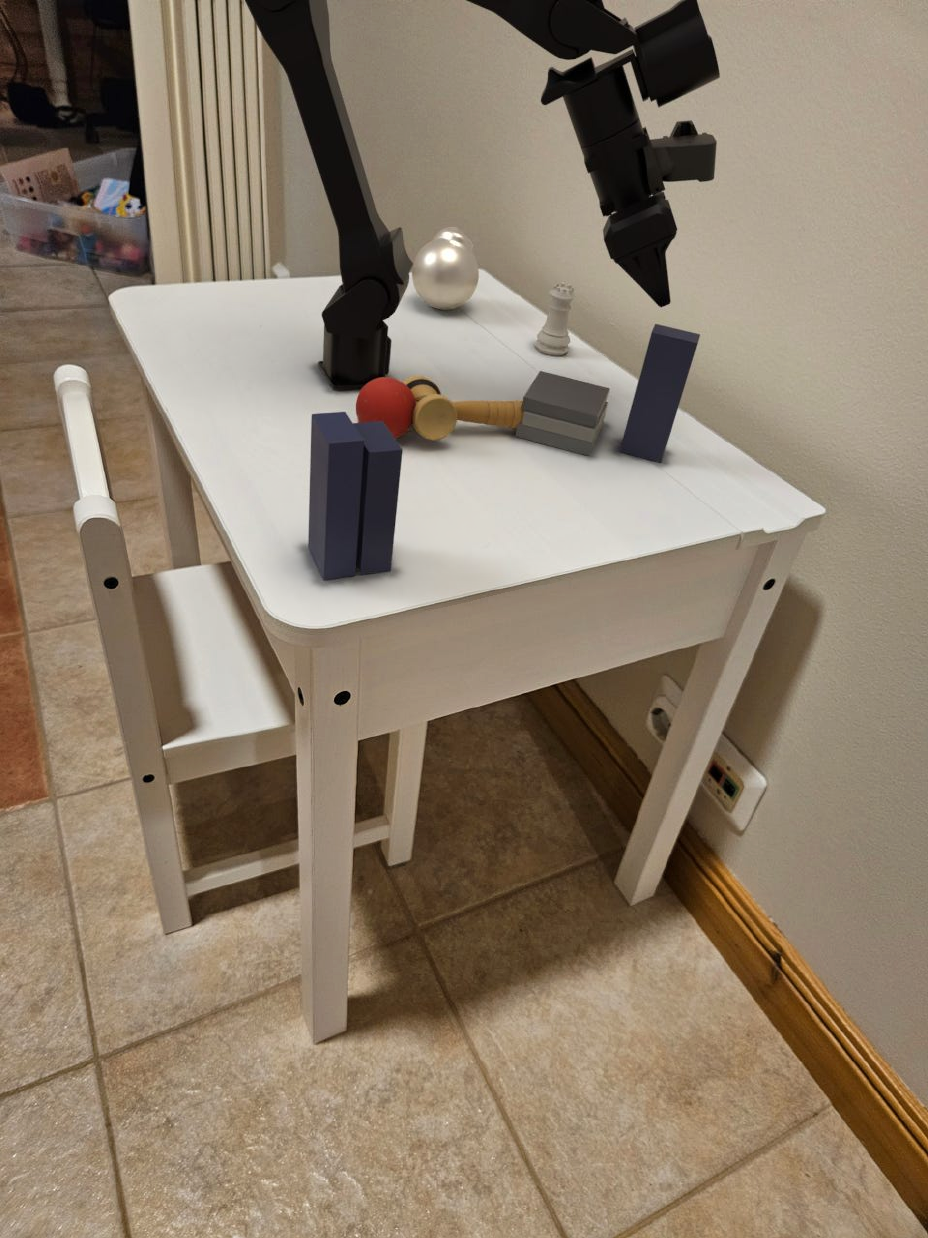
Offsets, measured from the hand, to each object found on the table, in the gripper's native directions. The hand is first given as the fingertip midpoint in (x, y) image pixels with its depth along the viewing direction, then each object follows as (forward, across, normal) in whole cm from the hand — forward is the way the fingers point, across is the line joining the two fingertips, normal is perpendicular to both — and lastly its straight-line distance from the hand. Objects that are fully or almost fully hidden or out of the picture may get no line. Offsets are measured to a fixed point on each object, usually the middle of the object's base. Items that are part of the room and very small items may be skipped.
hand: (661, 289), depth 89 cm
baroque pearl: (0, +27, +28) cm, 39 cm away
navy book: (+13, -7, +7) cm, 16 cm away
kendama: (+2, -10, +25) cm, 27 cm away
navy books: (-1, -34, +28) cm, 45 cm away
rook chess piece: (+8, +18, +16) cm, 25 cm away
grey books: (+8, -5, +14) cm, 17 cm away
